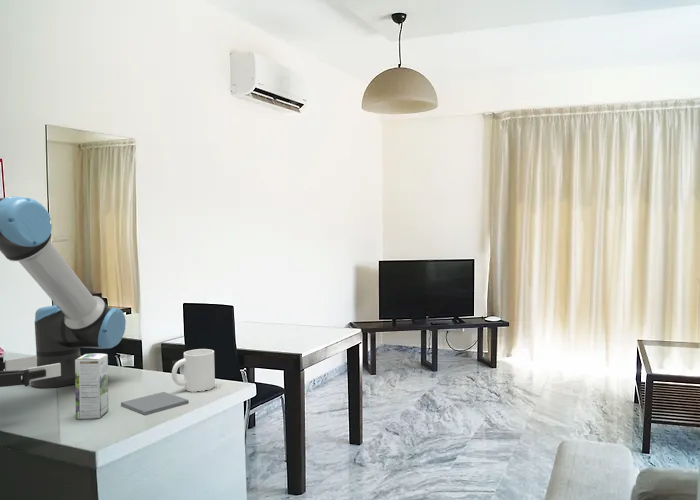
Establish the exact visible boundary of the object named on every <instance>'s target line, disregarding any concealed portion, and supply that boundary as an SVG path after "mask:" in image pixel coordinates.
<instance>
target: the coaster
mask: <svg viewBox="0 0 700 500" xmlns="http://www.w3.org/2000/svg"><path fill="white" fill-rule="evenodd" d="M189 403H190V402H189V399H187V398H183V397H181V396H178V395H175V394H171V393H169V392H166V391H162V392H157V393H154V394H149V395H144V396H142V397H137V398H134V399H130V400H126V401H121V402H120V407H124V408H126V409H129V410H131V411H134V412H137V413H138V414H142V415H143V416H146V415H151V414H154V413H158V412H160V411H165V410H168V409H173V408H176V407H179V406H182V405H186V404H189Z"/></svg>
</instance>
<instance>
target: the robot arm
mask: <svg viewBox="0 0 700 500" xmlns="http://www.w3.org/2000/svg"><path fill="white" fill-rule="evenodd" d="M51 219H52V218H51V216H50V213H49V211H48V210H47V209H46V207H45V206H44V205H43V204H42V203H40V202H39V201H37V200H36V199H33V198H30V197H24V196H23V197H21V196H9V197H7V196H6V197H0V252H1V253H2V255H4V257H5V259H7V260H9V261H11V262H19V264H20V265H21V266H22V267H23V268H24V269H25V271H26V272H27V273H28V274H29V276H31V278H33V279H34V281H35V282H36V283H37V284H38V286H39V287H40V288H41V290H43V292H44V293H45V294H46V295H47V296H48V297H49V298H50V300H51V301H52V302H53V303H54V305H48V306H43V307H39V308H37V309H36V311H35V313H34V314H35V315H34V317H35V318H34V333H35V334H34V336H35V338H34V339H35V352H36V354H35V355H29V356H28V355H27V356H23V357H15V358H10V359H4V357H3V356H0V388H4V387H15V386H24V387H30V386H31V387H33V386H34V388H40V389H41V388H43V389H47V388H59V387H60V388H61V387H66V386H71V385H75V360H76V359H78V358H79V357H81V356H82V355H81V354H82V353H81V348H84V349H101V350H104V349H112V348H114V347H116V346H117V345H119V344H120V342H121V341H122V340H123V337H124V335H125V331H126V324H127V323H126V322H127V321H126V317H125V313H124V312H123V310H122V309H120V308H117V307H110V306H109V305H107V303H106V302H105V301H104V299H102V298H101V297H100V296H98V295H92V293H91V292H90V291H89V289H88V288H87V286H86V285H85V284H84V283H83V282H82V280H81V279H80V278H79V276H78V275H77V274H76V272H74V270H73V269H72V268H71V266H70V265H69V264H68V263H67V262H66V260H65V258H63V256H62V255H61V254H60V253H59V251H58V249H56V247H55V246H54V245H53V244H52V242H51V240H52V236H53V235H52V230H53V229H52V227H53V224H52V223H51V222H50V221H51ZM30 384H31V385H30Z"/></svg>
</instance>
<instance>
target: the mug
mask: <svg viewBox="0 0 700 500" xmlns="http://www.w3.org/2000/svg"><path fill="white" fill-rule="evenodd" d="M182 365H183V373H184V374H183V379H184V380H181V379H179V377H178V374H177V373H178V371H179V370H178V369H179V368H180V367H181V366H182ZM215 370H216V369H215V350H213V349H208V348H198V349H197V348H196V349H191V350H187V351H183V358H181V359H179V360H178V361H176V362H175V363H174V365H173V367H172V370H171V378H172V379H171V380H172V381H173V382H174V384H175V385H177V386H180V387H181V386H182V387H184V388H185V390H186V391H187V392H189V391H190V392H191V393H198V392H197V391H203V392H206V391H205V390H208V391H210V390H209V389H211V390H213V389H214V388H215V385H216V384H215V383H216V377H215V376H216V375H215V374H216V373H215ZM212 388H213V389H212Z"/></svg>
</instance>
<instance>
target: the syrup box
mask: <svg viewBox="0 0 700 500" xmlns="http://www.w3.org/2000/svg"><path fill="white" fill-rule="evenodd" d="M108 357H109V356H108V354H107V353H99V352H98V353H96V352H95V353H84V354H83V355H81V357H79V358H78V359H76V360H75V384H74V386H75V391H74V392H75V419H76V420H89V419H90V420H93V419H100V418H102V417H103V416H104V415H106V413H107V412H109V365H108V363H109V359H108Z"/></svg>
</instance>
